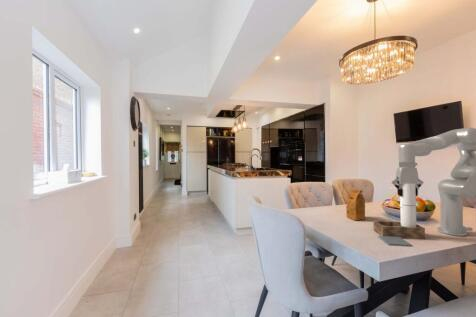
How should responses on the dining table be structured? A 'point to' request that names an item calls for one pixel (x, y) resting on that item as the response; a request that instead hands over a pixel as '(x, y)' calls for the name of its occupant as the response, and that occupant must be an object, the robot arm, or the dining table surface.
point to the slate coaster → (394, 241)
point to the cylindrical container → (408, 206)
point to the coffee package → (355, 205)
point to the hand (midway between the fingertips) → (407, 195)
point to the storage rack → (398, 230)
